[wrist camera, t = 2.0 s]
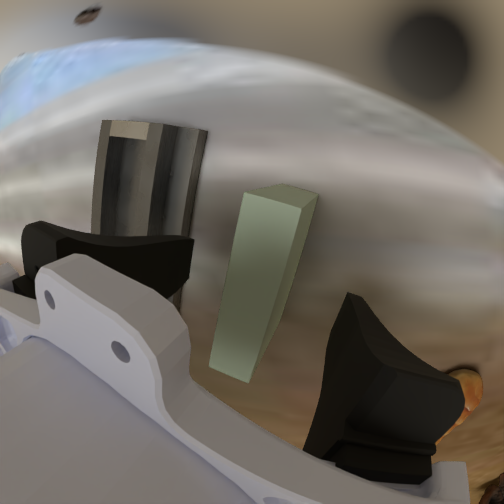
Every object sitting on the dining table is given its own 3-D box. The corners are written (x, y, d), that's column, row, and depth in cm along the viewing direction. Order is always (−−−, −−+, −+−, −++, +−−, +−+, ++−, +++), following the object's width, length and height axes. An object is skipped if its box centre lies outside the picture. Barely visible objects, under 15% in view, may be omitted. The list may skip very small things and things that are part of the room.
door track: (173, 379, 22) (158, 396, 20) (107, 340, 24) (91, 352, 22) (207, 131, 15) (184, 126, 13) (115, 121, 17) (89, 119, 15)
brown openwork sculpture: (542, 450, 11) (540, 495, 5) (501, 465, 18) (499, 504, 12) (499, 480, 12) (493, 532, 6) (454, 489, 18) (449, 533, 13)
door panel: (280, 320, 17) (248, 383, 12) (250, 309, 17) (208, 366, 12) (318, 194, 14) (301, 208, 9) (282, 183, 15) (244, 192, 9)
